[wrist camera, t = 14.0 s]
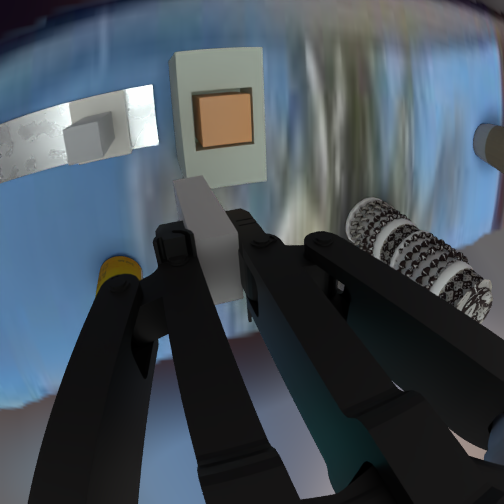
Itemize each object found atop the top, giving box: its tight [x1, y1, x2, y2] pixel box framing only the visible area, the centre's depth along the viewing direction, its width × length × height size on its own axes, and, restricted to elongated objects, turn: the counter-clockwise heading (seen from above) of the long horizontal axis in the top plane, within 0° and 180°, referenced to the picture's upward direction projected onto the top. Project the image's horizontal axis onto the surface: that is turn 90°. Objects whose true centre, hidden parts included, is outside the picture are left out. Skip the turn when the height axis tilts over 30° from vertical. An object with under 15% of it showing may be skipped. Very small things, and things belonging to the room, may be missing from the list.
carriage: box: [62, 90, 133, 165], centre depth 26 cm, size 6×7×11 cm
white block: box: [168, 47, 267, 189], centre depth 30 cm, size 7×12×12 cm, turn 2°
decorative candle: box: [345, 197, 493, 324], centre depth 40 cm, size 9×9×25 cm
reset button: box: [192, 91, 252, 147], centre depth 26 cm, size 4×4×5 cm
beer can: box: [95, 256, 143, 298], centre depth 36 cm, size 6×6×15 cm
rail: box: [0, 85, 159, 183], centre depth 30 cm, size 25×7×2 cm, turn 92°
